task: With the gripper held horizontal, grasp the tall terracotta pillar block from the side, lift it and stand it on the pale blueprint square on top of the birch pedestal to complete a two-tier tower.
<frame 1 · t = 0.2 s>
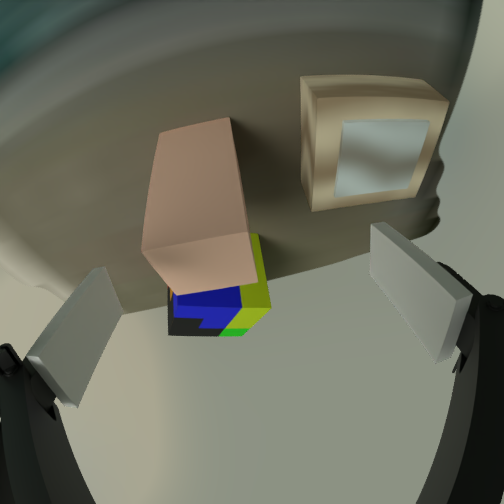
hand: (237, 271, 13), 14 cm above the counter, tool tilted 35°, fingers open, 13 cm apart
pedestal: (361, 130, 23), on the counter
pillar block: (201, 151, 24), on the counter
puzzle toy: (209, 250, 37), on the counter
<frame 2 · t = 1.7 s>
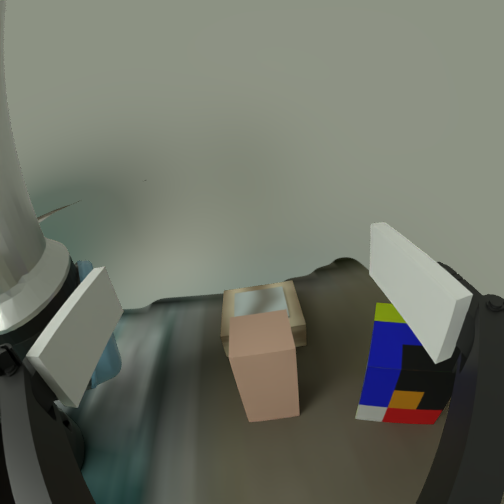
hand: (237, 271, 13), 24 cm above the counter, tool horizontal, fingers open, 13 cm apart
pedestal: (263, 326, 45), on the counter
pillar block: (272, 400, 32), on the counter
puzzle toy: (398, 391, 29), on the counter
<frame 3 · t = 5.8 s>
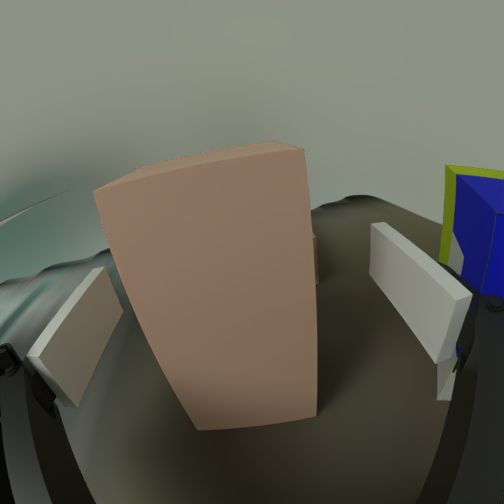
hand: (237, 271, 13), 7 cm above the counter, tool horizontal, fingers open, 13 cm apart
pillar block: (252, 382, 15), on the counter
puzzle toy: (496, 342, 12), on the counter, touching gripper
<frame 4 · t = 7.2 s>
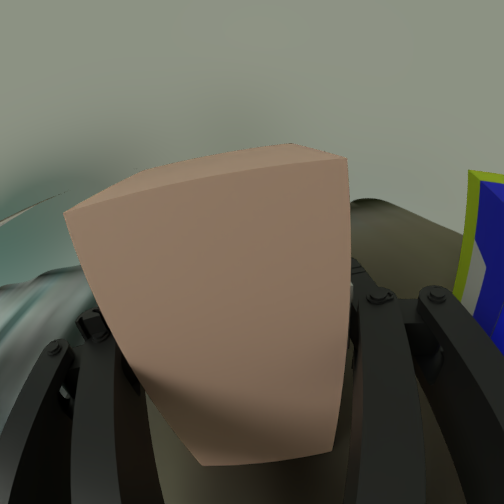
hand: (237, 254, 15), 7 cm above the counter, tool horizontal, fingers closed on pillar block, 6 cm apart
pillar block: (261, 413, 13), on the counter, touching gripper
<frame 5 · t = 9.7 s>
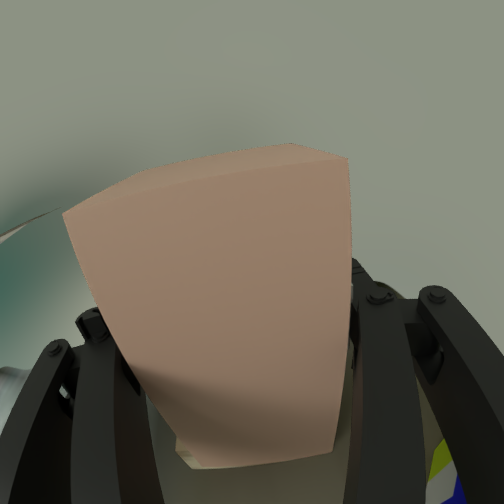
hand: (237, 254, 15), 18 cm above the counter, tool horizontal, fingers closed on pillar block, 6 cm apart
pedestal: (254, 412, 24), on the counter
pillar block: (262, 413, 13), point 11 cm above the counter, touching gripper
puzzle toy: (471, 498, 9), on the counter
when the fingers open (12 cm above the counter, at t = 11.9 s): pillar block drops 1 cm, resting on pedestal.
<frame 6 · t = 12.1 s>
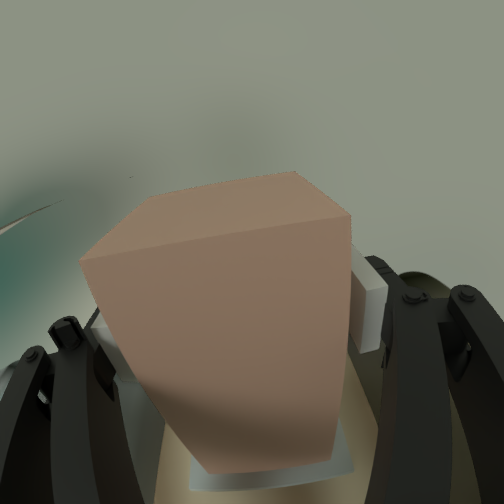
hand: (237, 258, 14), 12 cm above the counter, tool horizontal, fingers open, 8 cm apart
pedestal: (272, 453, 15), on the counter
pillar block: (264, 423, 13), point 5 cm above the counter, touching pedestal
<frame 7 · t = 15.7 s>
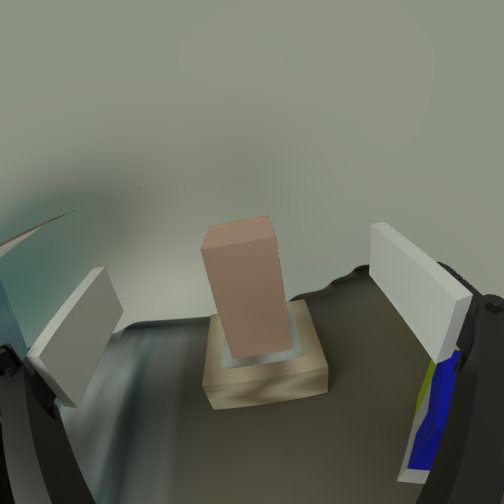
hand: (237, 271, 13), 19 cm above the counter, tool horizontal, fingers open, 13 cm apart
pedestal: (266, 363, 31), on the counter
pillar block: (259, 335, 29), point 5 cm above the counter, touching pedestal
puzzle toy: (455, 439, 16), on the counter
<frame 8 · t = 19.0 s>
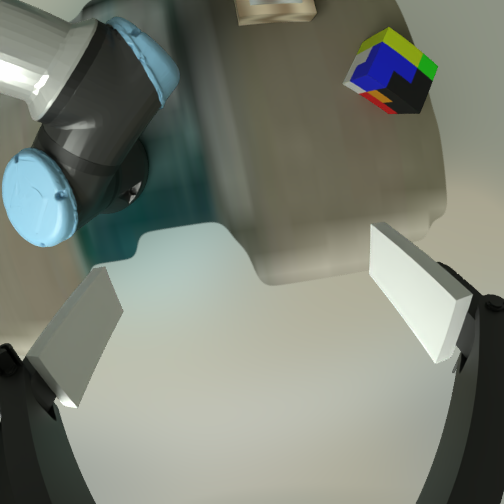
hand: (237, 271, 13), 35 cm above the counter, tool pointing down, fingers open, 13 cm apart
puzzle toy: (375, 77, 38), on the counter
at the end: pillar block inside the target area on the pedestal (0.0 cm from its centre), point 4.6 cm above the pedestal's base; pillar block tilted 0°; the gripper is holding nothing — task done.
